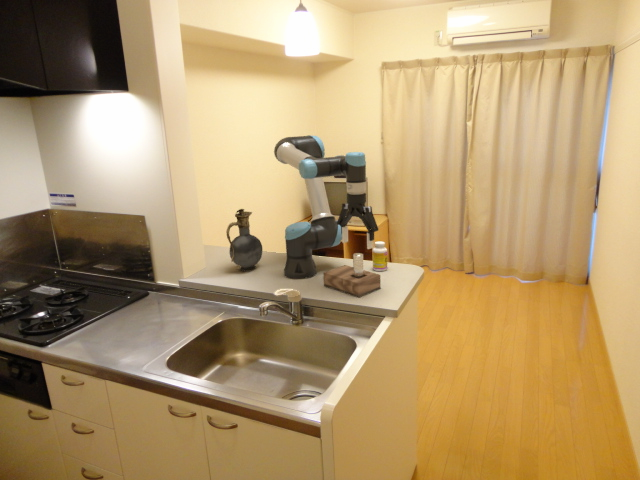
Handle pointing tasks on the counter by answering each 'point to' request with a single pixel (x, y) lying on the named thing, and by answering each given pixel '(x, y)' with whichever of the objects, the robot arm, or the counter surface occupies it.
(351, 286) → the socket block
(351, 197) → the robot arm
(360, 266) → the pin
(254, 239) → the pitcher
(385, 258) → the supplement bottle
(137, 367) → the counter surface
